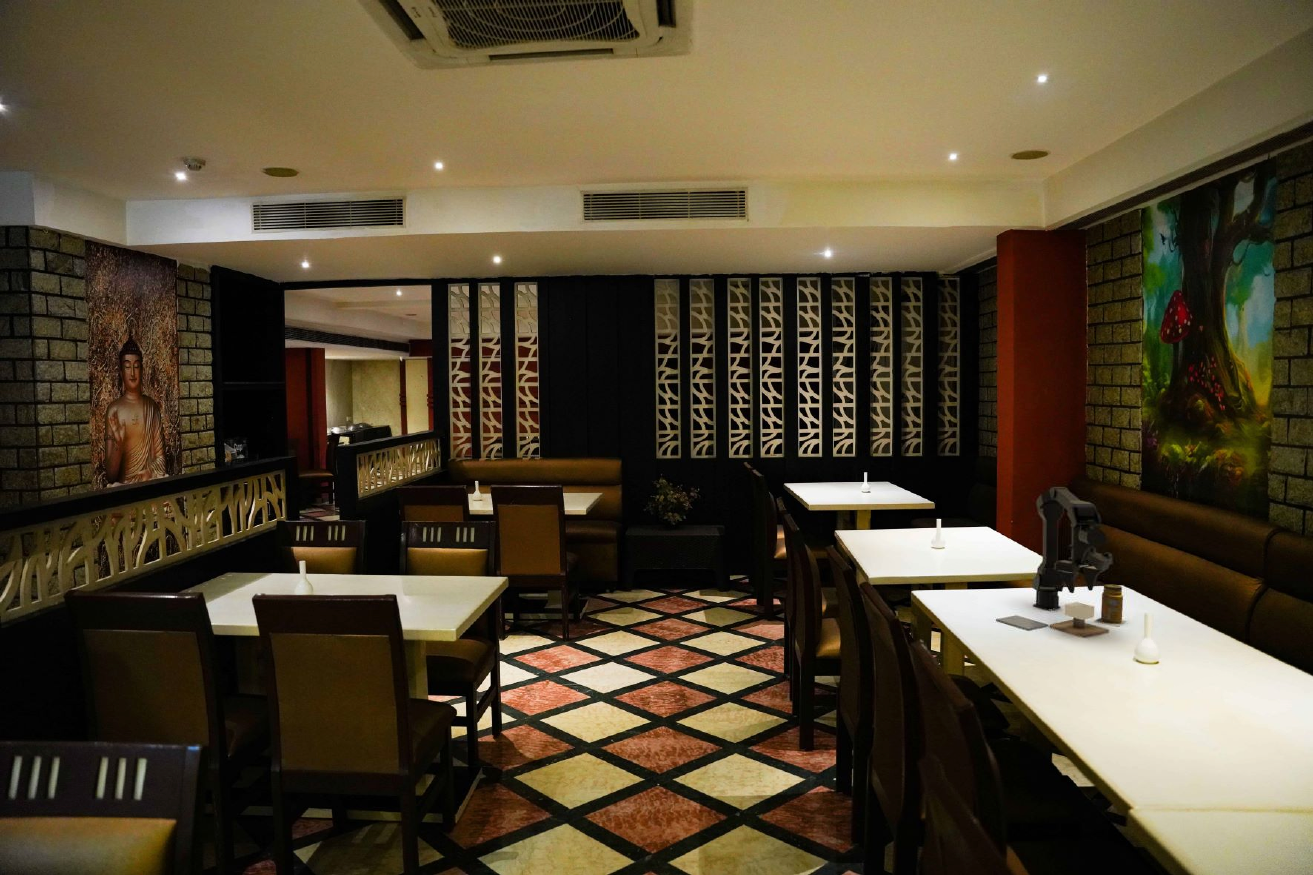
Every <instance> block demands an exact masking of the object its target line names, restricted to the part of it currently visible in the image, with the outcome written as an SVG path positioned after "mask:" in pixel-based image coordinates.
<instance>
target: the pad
mask: <svg viewBox="0 0 1313 875" xmlns="http://www.w3.org/2000/svg"><path fill="white" fill-rule="evenodd" d="M995 621H996V622H998V623H1001V624H1005V625H1009V626H1012V627H1014V626H1015V627H1014V628H1018V629H1021V628H1022V629H1021V630H1024V629H1025V631H1027V632H1028V631H1029V632H1030V631H1033V629H1034V630H1037V628H1039V629H1042V628H1047V626H1048V627H1049V625H1050V624H1047V623H1045V622H1041V621H1039V620H1038V621H1037V620H1036V619H1035V620H1034V619H1031V618H1028V617H1024V616H1020V615H1010V616H1005V617H999V618H995Z"/></svg>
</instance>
